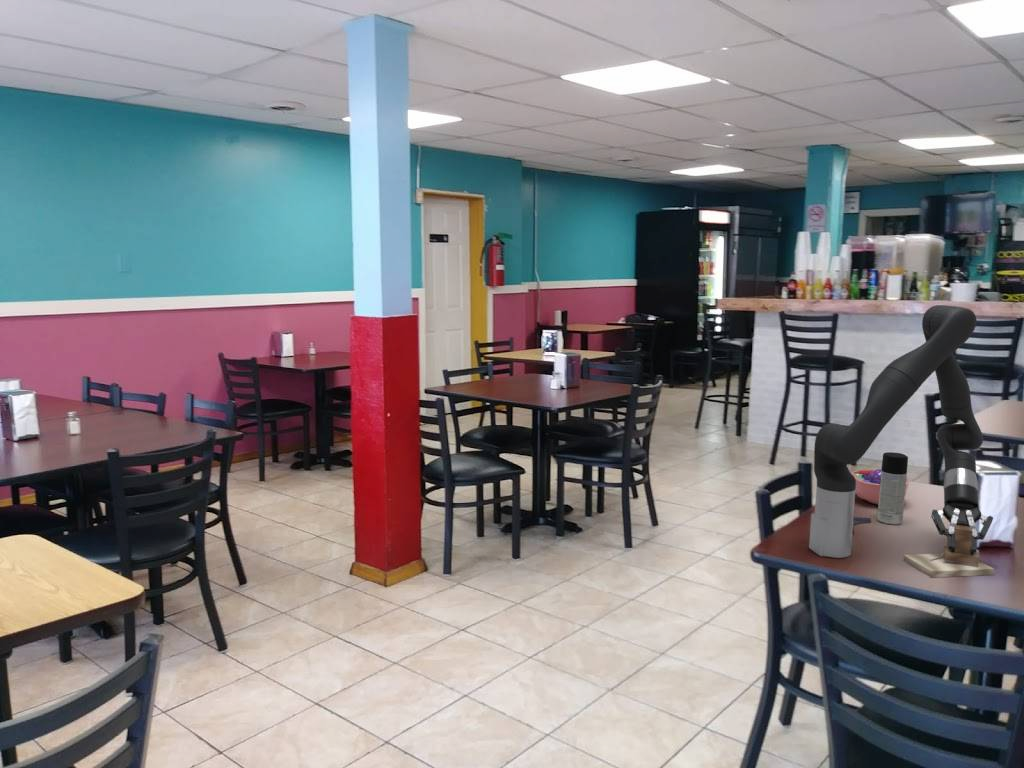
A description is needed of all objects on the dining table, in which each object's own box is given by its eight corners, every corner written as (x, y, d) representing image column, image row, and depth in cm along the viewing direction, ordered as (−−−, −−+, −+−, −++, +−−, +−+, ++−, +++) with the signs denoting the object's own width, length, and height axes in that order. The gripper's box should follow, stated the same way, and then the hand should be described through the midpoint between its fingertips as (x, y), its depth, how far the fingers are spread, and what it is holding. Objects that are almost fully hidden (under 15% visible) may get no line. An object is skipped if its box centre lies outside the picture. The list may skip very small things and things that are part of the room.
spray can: (896, 518, 231) (901, 451, 228) (907, 525, 224) (912, 457, 221) (873, 517, 231) (878, 451, 228) (883, 525, 224) (888, 457, 221)
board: (931, 577, 186) (931, 571, 186) (903, 560, 197) (903, 554, 196) (993, 574, 188) (994, 568, 188) (962, 558, 199) (962, 552, 198)
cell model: (911, 498, 251) (914, 464, 249) (904, 514, 234) (907, 478, 233) (854, 490, 260) (856, 457, 258) (843, 505, 243) (846, 470, 241)
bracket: (823, 535, 218) (823, 525, 217) (817, 518, 232) (817, 509, 231) (879, 540, 214) (880, 530, 213) (869, 523, 228) (870, 514, 228)
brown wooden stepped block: (945, 562, 191) (948, 528, 190) (943, 555, 196) (946, 523, 195) (978, 566, 189) (981, 532, 187) (975, 560, 193) (978, 526, 192)
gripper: (931, 479, 199) (931, 540, 190) (995, 485, 194) (999, 548, 185) (927, 494, 205) (927, 554, 196) (990, 501, 199) (993, 562, 190)
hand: (962, 551), depth 190 cm, fingers closed on brown wooden stepped block, 3 cm apart
